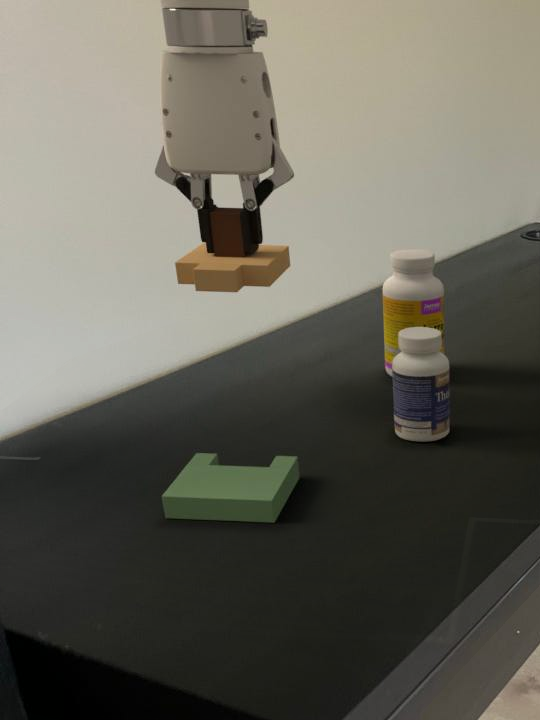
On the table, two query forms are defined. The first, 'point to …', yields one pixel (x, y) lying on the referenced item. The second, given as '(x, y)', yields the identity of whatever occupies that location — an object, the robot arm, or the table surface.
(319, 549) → the table surface
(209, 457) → the green pad
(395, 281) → the supplement bottle
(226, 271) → the tan pad
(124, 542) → the table surface
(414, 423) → the pill bottle
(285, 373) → the table surface
